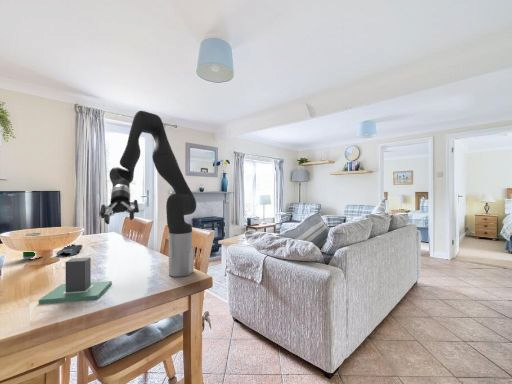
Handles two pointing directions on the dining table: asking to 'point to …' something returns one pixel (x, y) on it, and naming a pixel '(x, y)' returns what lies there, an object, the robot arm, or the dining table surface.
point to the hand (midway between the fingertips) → (119, 220)
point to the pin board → (76, 293)
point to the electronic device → (70, 250)
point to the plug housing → (78, 274)
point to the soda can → (30, 254)
